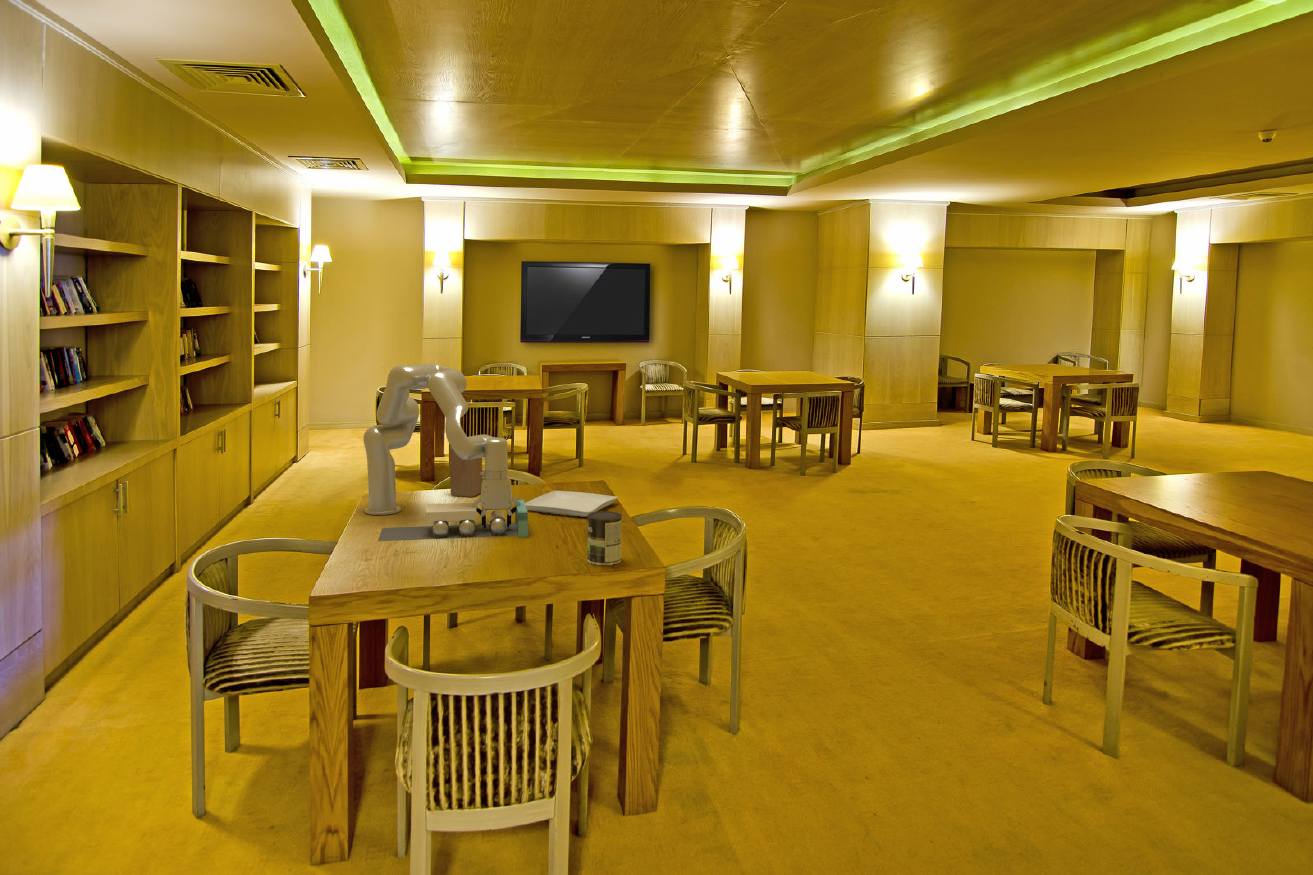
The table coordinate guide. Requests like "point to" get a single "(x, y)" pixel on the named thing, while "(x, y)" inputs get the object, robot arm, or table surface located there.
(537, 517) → the table surface
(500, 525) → the loose roller
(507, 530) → the runway
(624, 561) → the table surface
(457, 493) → the wooden block
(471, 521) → the roller
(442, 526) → the roller
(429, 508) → the slab
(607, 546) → the coffee can
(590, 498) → the square plate
